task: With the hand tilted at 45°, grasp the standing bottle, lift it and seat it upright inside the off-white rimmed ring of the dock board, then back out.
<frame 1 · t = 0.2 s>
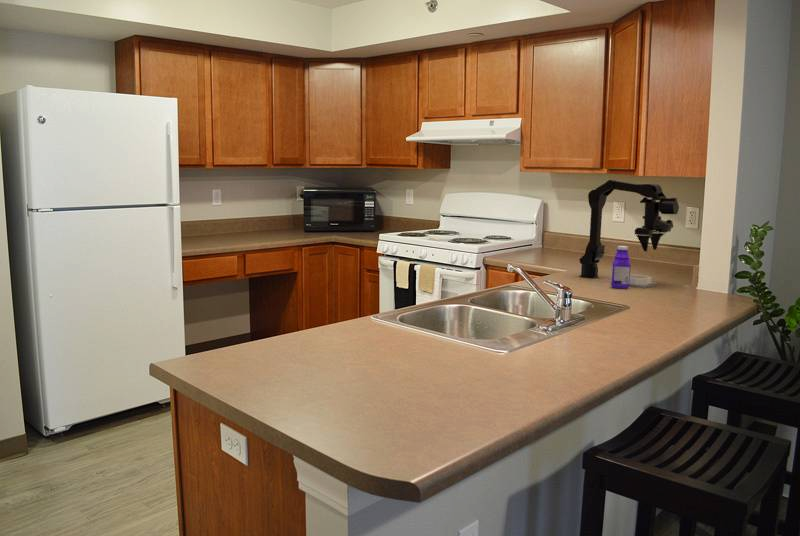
hand: (650, 250, 285), 15 cm above the table, tool pointing down, fingers open, 9 cm apart
bottle: (619, 288, 279), on the table
dock: (635, 284, 287), on the table
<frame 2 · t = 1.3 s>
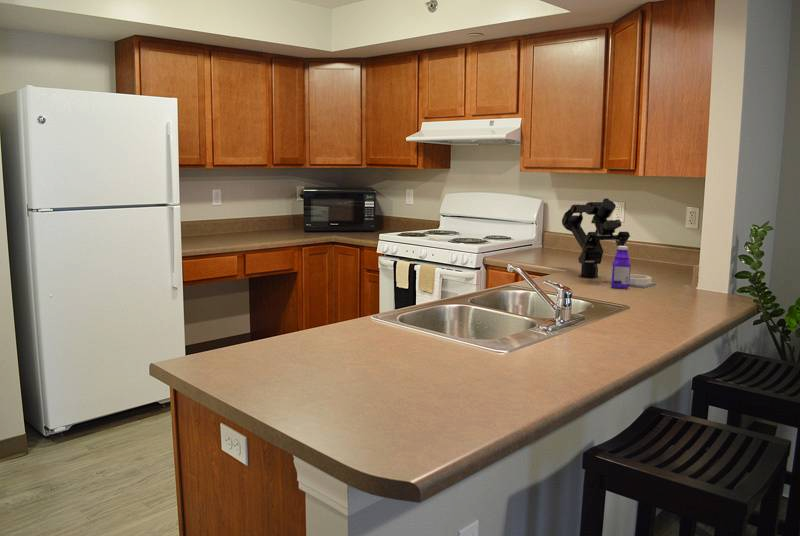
hand: (612, 253, 284), 13 cm above the table, tool tilted 45°, fingers open, 9 cm apart
nothing on the table moved.
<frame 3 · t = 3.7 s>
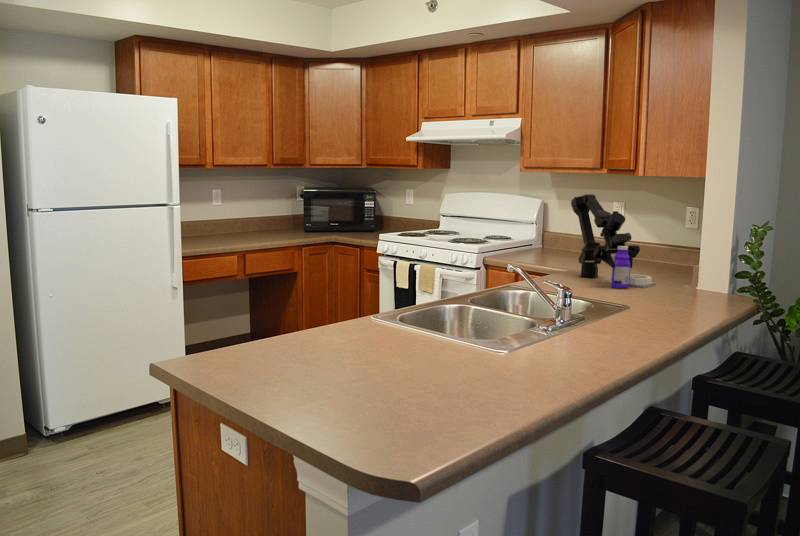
hand: (622, 267, 276), 9 cm above the table, tool tilted 45°, fingers closed on bottle, 7 cm apart
bottle: (619, 288, 279), on the table, touching gripper
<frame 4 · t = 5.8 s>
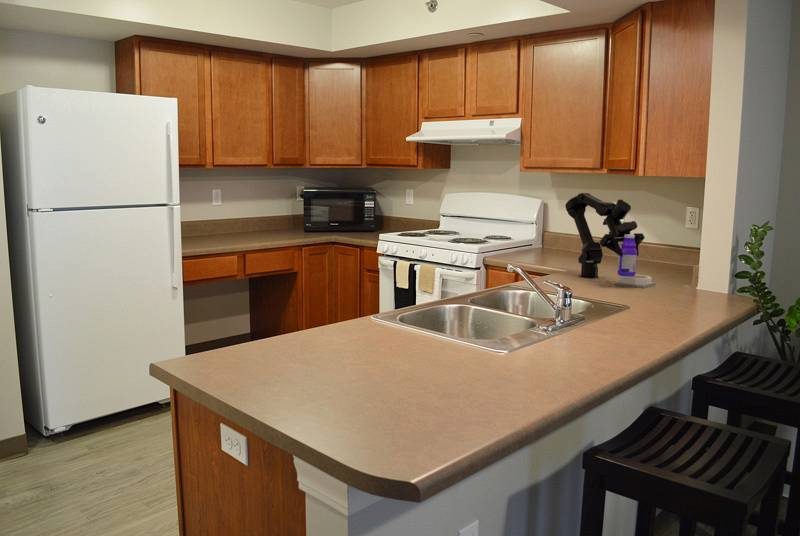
hand: (629, 255, 278), 13 cm above the table, tool tilted 45°, fingers closed on bottle, 7 cm apart
bottle: (626, 276, 280), point 4 cm above the table, touching gripper
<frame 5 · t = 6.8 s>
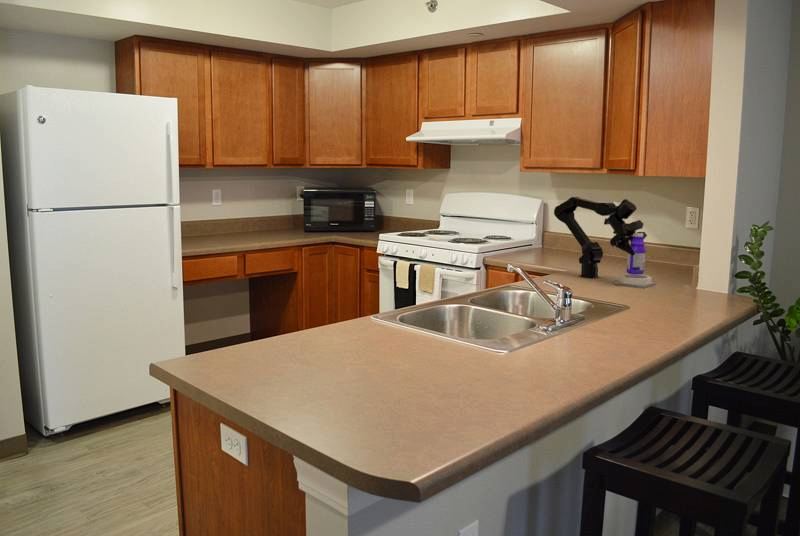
hand: (639, 254, 284), 13 cm above the table, tool tilted 45°, fingers closed on bottle, 7 cm apart
bottle: (635, 274, 286), point 4 cm above the table, touching gripper
when the fingers open (11 cm above the table, at t = 7.8 s): bottle drops 1 cm, resting on dock.
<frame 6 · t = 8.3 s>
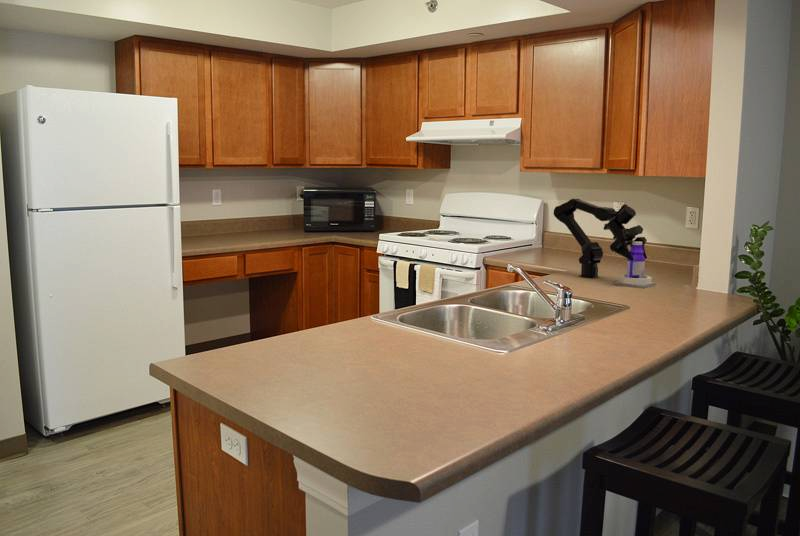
hand: (639, 259, 284), 11 cm above the table, tool tilted 45°, fingers open, 9 cm apart
bottle: (634, 282, 287), point 1 cm above the table, touching dock
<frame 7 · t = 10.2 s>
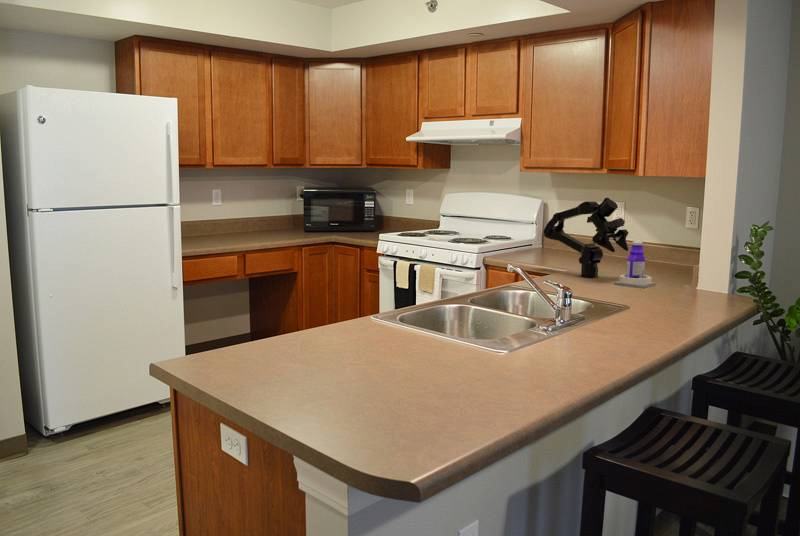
hand: (620, 251, 291), 14 cm above the table, tool tilted 45°, fingers open, 9 cm apart
nothing on the table moved.
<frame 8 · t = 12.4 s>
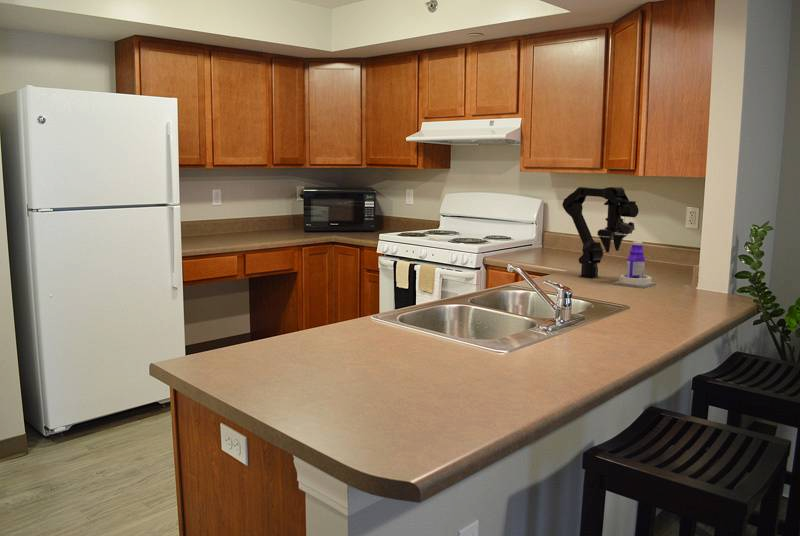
hand: (612, 251, 295), 13 cm above the table, tool pointing down, fingers open, 9 cm apart
nothing on the table moved.
at the end: bottle 0.2 cm off-centre on the dock, point 0.8 cm above the dock's base; bottle tilted 0°; the gripper is holding nothing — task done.
